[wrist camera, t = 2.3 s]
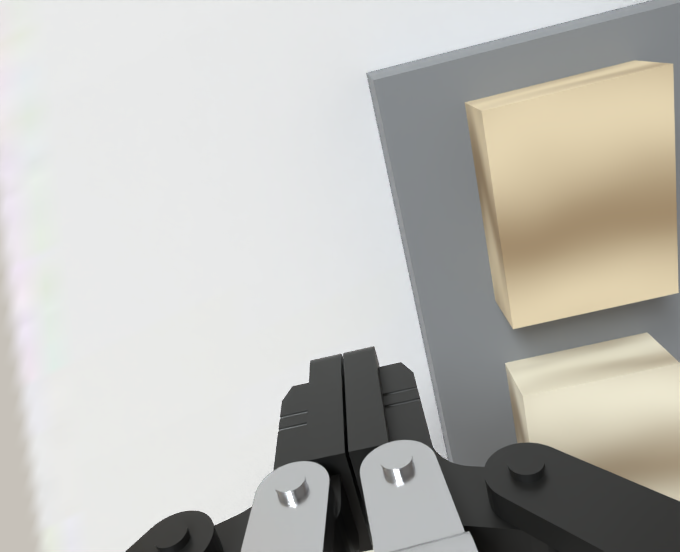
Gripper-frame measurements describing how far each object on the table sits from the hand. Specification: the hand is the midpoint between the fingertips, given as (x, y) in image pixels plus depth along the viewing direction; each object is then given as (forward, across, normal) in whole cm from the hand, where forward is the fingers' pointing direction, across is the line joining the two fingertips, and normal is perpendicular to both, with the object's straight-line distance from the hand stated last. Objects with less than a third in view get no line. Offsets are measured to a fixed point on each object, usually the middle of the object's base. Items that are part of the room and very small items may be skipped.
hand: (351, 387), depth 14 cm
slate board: (+14, -8, +5) cm, 17 cm away
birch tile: (+9, -8, +11) cm, 16 cm away
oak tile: (+9, -8, 0) cm, 12 cm away
